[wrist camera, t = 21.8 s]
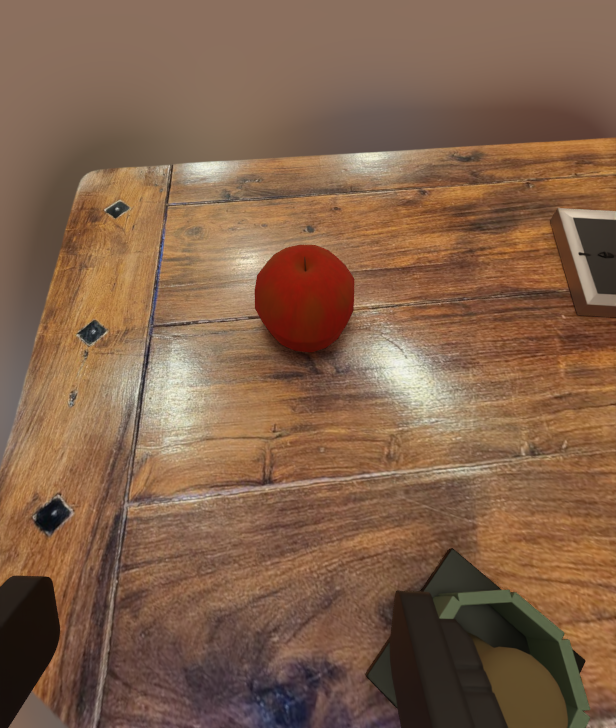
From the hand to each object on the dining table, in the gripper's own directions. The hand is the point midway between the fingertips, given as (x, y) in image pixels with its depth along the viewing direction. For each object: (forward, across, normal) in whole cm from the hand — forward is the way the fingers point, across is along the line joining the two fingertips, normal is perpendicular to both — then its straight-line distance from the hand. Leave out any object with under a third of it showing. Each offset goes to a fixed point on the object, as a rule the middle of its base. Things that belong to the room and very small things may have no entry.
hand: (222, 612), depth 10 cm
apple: (+40, -1, +1) cm, 40 cm away
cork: (+17, -14, +23) cm, 32 cm away
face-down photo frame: (+47, -44, -7) cm, 64 cm away
